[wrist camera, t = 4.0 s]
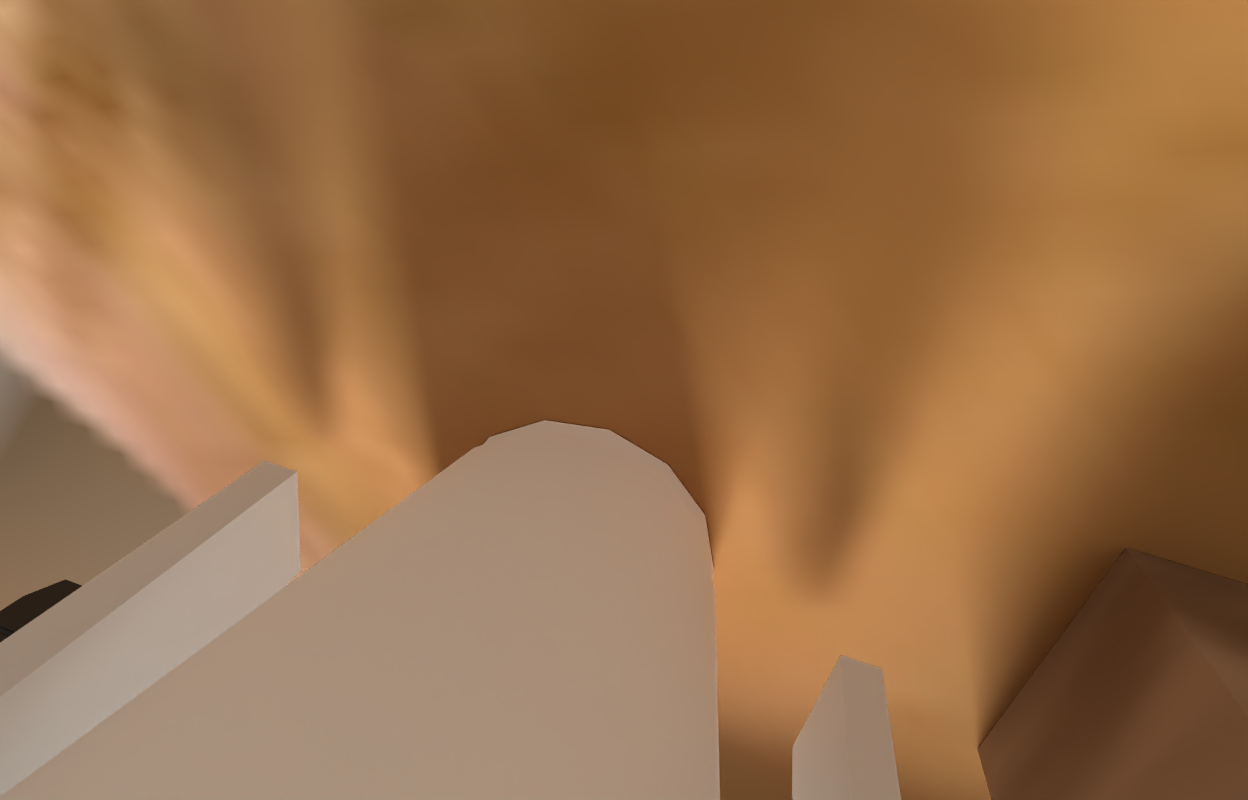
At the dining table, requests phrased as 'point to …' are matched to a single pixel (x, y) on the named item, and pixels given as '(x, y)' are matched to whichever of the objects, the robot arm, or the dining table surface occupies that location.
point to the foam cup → (453, 652)
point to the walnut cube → (1134, 695)
